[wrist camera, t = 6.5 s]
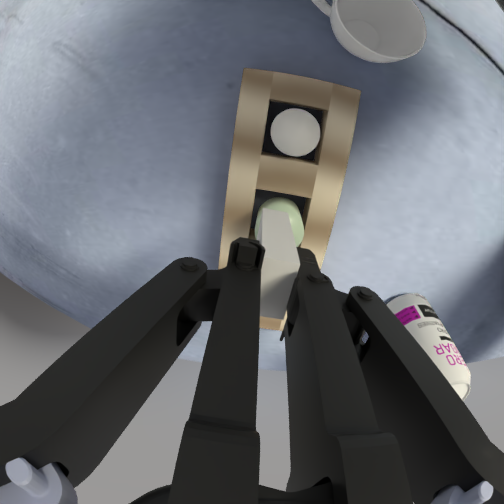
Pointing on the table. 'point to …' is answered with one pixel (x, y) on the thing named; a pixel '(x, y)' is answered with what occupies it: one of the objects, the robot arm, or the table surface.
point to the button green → (293, 212)
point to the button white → (295, 132)
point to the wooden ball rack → (288, 159)
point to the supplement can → (432, 339)
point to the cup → (377, 28)
